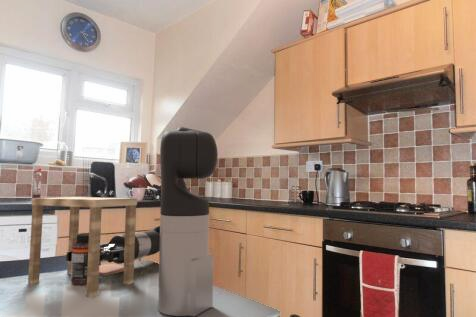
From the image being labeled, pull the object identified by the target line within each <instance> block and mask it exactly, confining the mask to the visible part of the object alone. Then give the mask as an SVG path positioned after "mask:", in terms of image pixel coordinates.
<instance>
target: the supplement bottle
mask: <svg viewBox="0 0 476 317" xmlns="http://www.w3.org/2000/svg"><path fill="white" fill-rule="evenodd" d="M88 246H89V232H81V233H78V234H77V241H76V243H75V244H74V245H73V246H72V264H71V274H70V279H71V280H70V282H71V283H72V284H73V285H76V286H84V285H85V286H86V285H87V270H88V264H86V263H85V256H86V254H88Z"/></svg>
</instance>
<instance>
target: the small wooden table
mask: <svg viewBox="0 0 476 317" xmlns="http://www.w3.org/2000/svg"><path fill="white" fill-rule="evenodd" d="M30 204H31V205H30V206H32V207H31V208H32V211H31V227H30V242H29V243H30V245H29V246H30V247H29V263H28V276H27V277H28V278H27V280H28V281H27V283H28V285H34V284H39V283H40V271H41V270H40V269H41V252H42V236H43V235H42V234H43V216H44V215H43V214H44V206H48V207H49V206H50V207H52V206H54V207H69V225H68V226H69V228H68V243H67V244H68V248H67V252H69V251H72V246H73V245H74V244H75V243H76V241H77V234H79V230H80V228H79V226H80V225H79V224H80V208H89V225H88V227H89V228H88V230H89V232H88V233H89V246H88V270H87V284H86V297H89V298H93V297H96V296H99V284H100V282H99V281H100V275H99V266H100V263H101V260H100V244H101V234H102V208H105V207H106V208H107V207H108V208H109V207H125V220H124V221H125V223H124V224H125V226H124V234H125V247H124V263H123V266H124V271H123V278H122V279H123V285H128V286H129V285H132V284H134V278H135V277H134V275H135V260H134V249H135V232H136V216H137V215H136V213H137V211H136V209H137V205H138V198H137V197H98V196H97V197H93V196H92V197H90V196H89V197H88V196H87V197H86V196H82V197H81V196H70V197H69V196H65V197H64V196H63V197H32V198H31V202H30ZM71 264H72V261H67V267H66V268H67V270H66V273H67V275H71Z"/></svg>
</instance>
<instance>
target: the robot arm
mask: <svg viewBox="0 0 476 317" xmlns="http://www.w3.org/2000/svg"><path fill="white" fill-rule="evenodd" d="M159 148H160V151H159V152H160V154H159V157H160V158H159V160H160V184H161V186H160V216H159V225H157V226H156V227H154V228H151V229H150V230H149V231H147V230H146V231H141V232H140V231H135V249H134V261H137V260H140V259H143V258H144V257H148V256H153V255H155V254H158V253H159V257H158V259H159V260H158V303H157V305H158V307H157V309H158V311H159V312H160V313H161V314H164V315H167V316H173V317H186V316H190V317H196V316H199V314H201V313H203V312H205V311H206V310H208V309H210V308H212V307H213V306H214V300H213V299H214V298H213V295H214V279H213V278H214V256H213V254H211V253H210V250H209V249H210V244H209V243H210V240H209V239H210V202H209V200H208V199H206V198H205V197H202V196H198V195H196V194H194V193H190V192H189V191H188V187H187V184H186V182H185V179H188V180H189V179H190V180H194V179H197V180H199V179H207V178H209V177H211V176H212V175H213V174H214V172H215V170H216V167H217V163H218V156H219V154H218V147H217V144H216V140H215V138H214V137H213V135H212V134H211V133H209V132H208V131H207V132H206V131H203V130H197V129H192V128H189V127H184V126H179V127H178V128H177V129H176V130H167V131H165V132H164V133H163V135H162V136H161V140H160V147H159ZM124 247H125V233H122V234H115V235H114V236H113V237H111V239H110V240H109V242H101V243H100V263H105V262H106V263H107V262H108V263H109V264H112V263H113V264H114V263H115V264H116V265H121V264H122V265H123V264H124ZM65 258H66V261H67V262H68V261H72V251H69V252H68V251H67V252H66V256H65ZM85 263H86V264H88V254H86V256H85Z"/></svg>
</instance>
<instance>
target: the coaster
mask: <svg viewBox="0 0 476 317" xmlns="http://www.w3.org/2000/svg"><path fill="white" fill-rule="evenodd" d="M122 272H124V265H123V264H122V265H121V264H116V263H115V264H114V263H105V264H101V265H100V264H99V276H101V275H102V276H103V277H107V276H111V275H114V274H118V273H122Z"/></svg>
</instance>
